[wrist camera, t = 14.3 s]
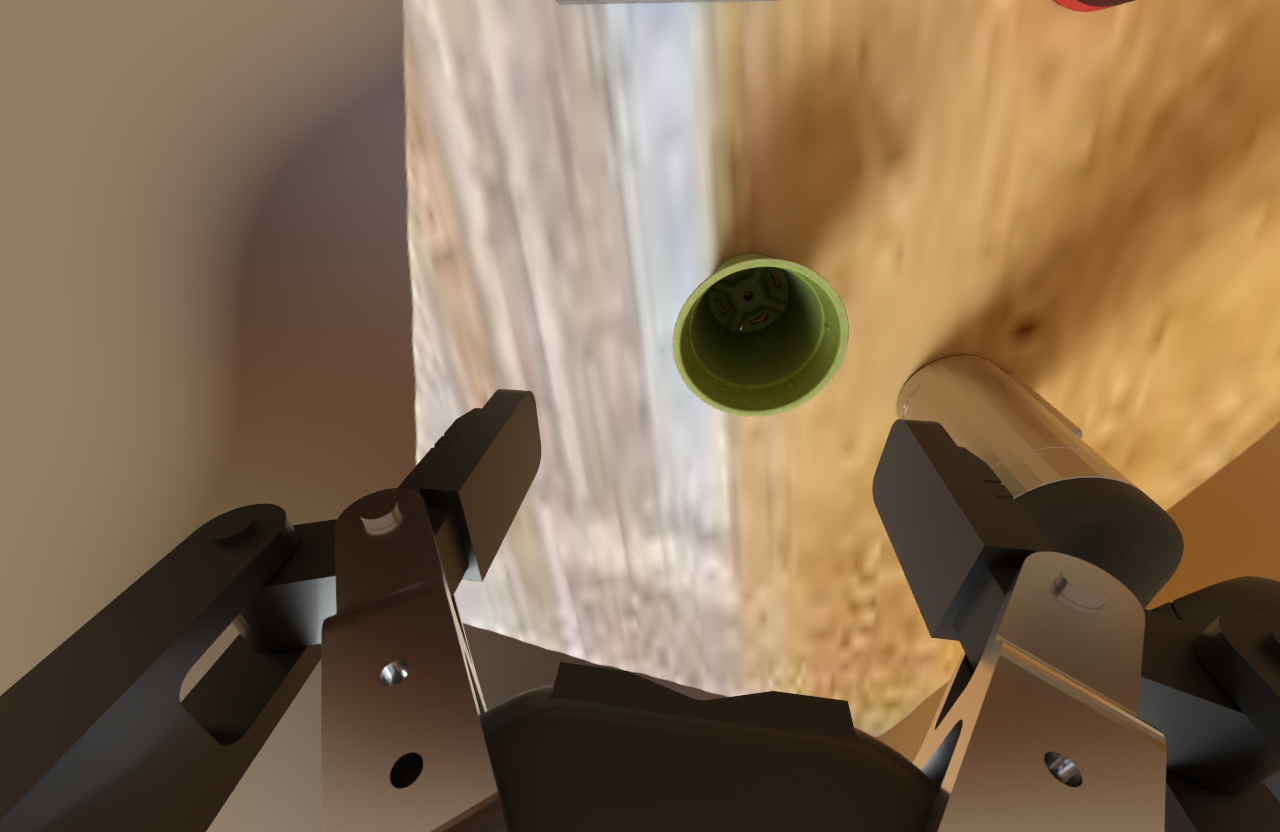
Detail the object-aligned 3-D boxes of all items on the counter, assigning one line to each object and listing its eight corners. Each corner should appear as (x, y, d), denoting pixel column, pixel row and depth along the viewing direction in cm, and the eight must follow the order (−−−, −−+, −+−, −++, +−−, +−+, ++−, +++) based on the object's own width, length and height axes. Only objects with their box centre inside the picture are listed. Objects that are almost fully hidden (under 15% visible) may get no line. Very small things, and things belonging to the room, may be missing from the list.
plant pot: (656, 311, 44) (641, 363, 34) (736, 194, 38) (745, 219, 28) (756, 377, 46) (768, 444, 37) (847, 277, 40) (889, 326, 30)
